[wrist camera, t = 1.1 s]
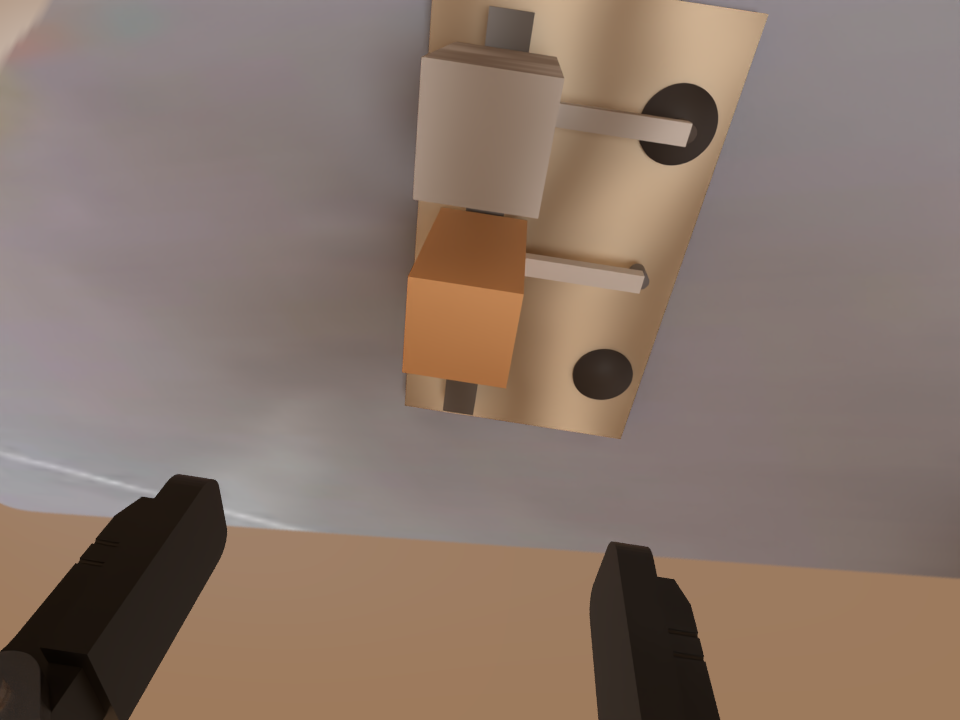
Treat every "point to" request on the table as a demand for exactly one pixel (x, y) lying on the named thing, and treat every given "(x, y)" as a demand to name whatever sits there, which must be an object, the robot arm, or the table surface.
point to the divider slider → (482, 295)
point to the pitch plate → (576, 176)
